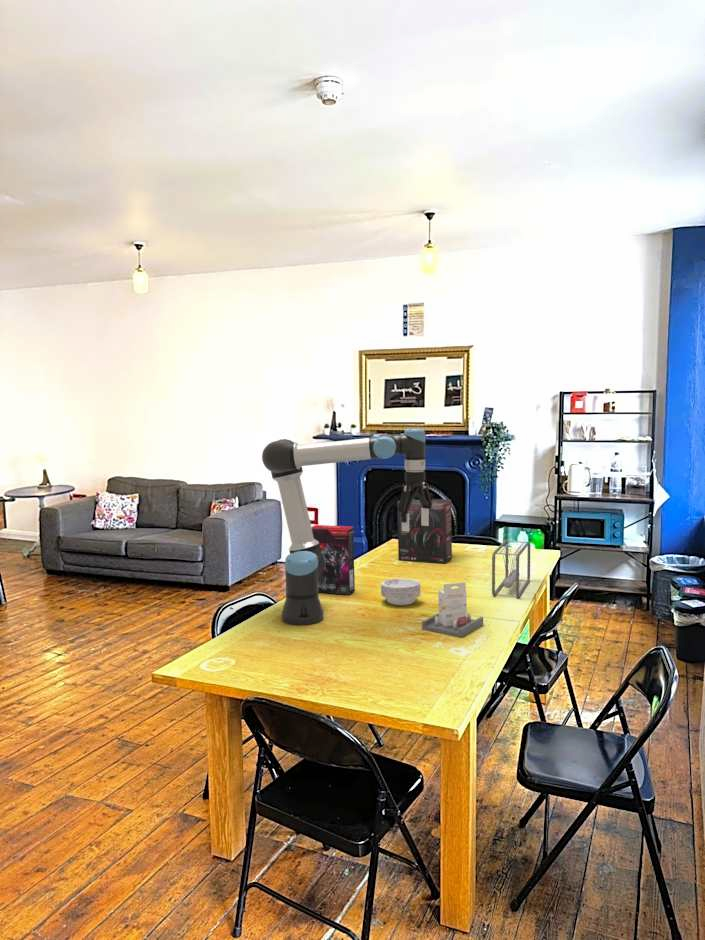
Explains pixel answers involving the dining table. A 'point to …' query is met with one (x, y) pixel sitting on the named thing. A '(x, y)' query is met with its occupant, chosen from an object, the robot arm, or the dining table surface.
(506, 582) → the newton's cradle
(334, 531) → the graphics card box
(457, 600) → the ink cartridge box
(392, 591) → the paper bowls
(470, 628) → the pin tray
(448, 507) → the headset box
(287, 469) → the robot arm
